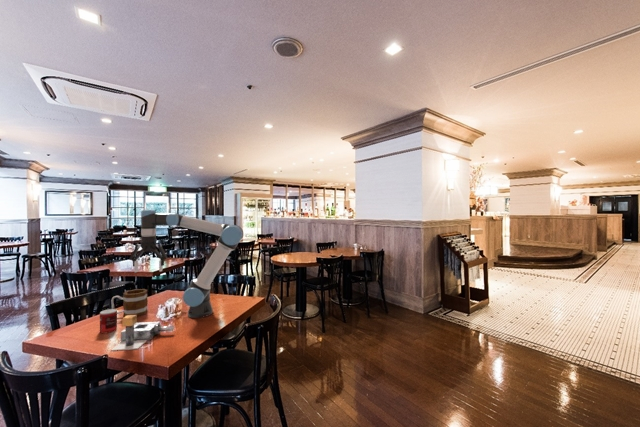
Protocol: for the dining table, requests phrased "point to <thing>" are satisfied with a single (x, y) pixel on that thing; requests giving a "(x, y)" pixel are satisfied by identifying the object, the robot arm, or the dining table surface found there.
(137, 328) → the block
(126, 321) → the key
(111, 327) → the canned food
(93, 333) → the dining table surface
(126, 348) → the rest mat
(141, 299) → the mug
